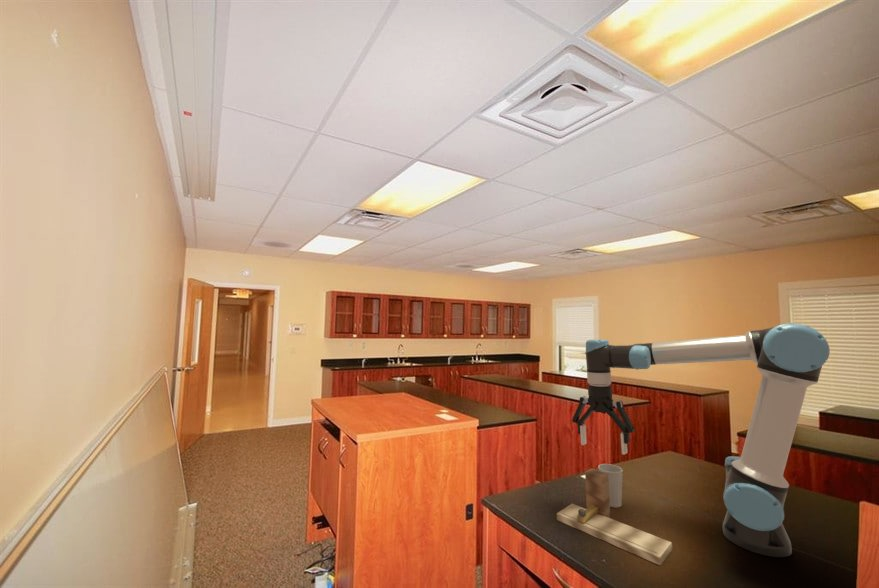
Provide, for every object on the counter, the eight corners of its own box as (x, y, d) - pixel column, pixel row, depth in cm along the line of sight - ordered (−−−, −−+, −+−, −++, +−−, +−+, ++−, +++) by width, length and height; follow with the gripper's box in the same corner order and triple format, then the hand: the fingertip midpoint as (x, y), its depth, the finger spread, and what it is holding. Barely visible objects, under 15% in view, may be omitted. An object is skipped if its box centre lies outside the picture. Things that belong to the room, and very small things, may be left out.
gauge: (610, 517, 118) (608, 473, 119) (590, 534, 109) (588, 485, 110) (592, 511, 122) (590, 468, 124) (571, 526, 113) (570, 479, 114)
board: (672, 549, 101) (671, 542, 101) (660, 565, 94) (659, 557, 94) (572, 509, 123) (572, 503, 123) (556, 519, 117) (556, 513, 117)
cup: (598, 505, 126) (597, 469, 127) (600, 495, 133) (598, 462, 134) (624, 510, 122) (622, 474, 124) (624, 500, 129) (622, 466, 131)
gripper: (642, 386, 117) (647, 454, 114) (570, 380, 135) (573, 438, 133) (634, 389, 112) (639, 460, 109) (560, 382, 130) (563, 443, 127)
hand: (603, 448), depth 121 cm, fingers open, 13 cm apart
